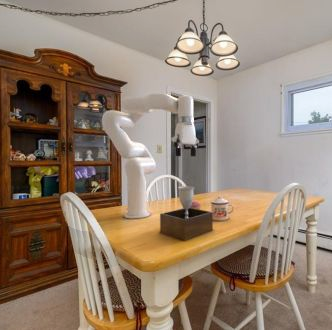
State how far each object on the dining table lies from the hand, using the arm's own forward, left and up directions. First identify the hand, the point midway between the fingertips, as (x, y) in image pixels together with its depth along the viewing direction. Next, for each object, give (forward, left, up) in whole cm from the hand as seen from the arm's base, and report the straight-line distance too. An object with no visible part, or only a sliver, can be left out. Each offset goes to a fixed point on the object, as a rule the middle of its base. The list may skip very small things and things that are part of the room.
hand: (186, 156), depth 111 cm
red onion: (-6, +10, -32) cm, 35 cm away
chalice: (+13, -11, -32) cm, 36 cm away
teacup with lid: (+12, +14, -32) cm, 37 cm away
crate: (+13, -11, -32) cm, 37 cm away
